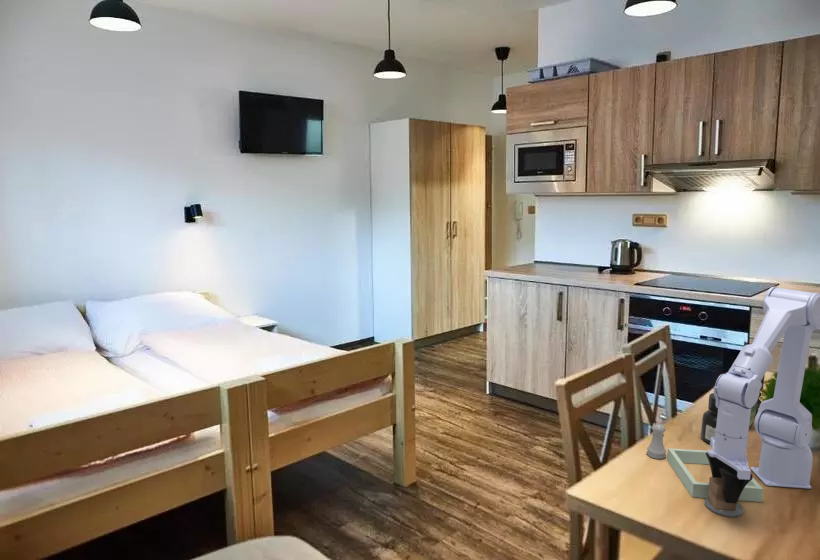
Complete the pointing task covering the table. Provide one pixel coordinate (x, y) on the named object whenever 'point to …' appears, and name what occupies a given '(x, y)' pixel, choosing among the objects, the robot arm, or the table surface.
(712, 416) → the ink bottle
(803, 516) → the table surface
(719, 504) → the block
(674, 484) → the table surface
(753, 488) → the green rectangular frame
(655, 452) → the rook chess piece
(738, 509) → the coaster
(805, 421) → the robot arm
